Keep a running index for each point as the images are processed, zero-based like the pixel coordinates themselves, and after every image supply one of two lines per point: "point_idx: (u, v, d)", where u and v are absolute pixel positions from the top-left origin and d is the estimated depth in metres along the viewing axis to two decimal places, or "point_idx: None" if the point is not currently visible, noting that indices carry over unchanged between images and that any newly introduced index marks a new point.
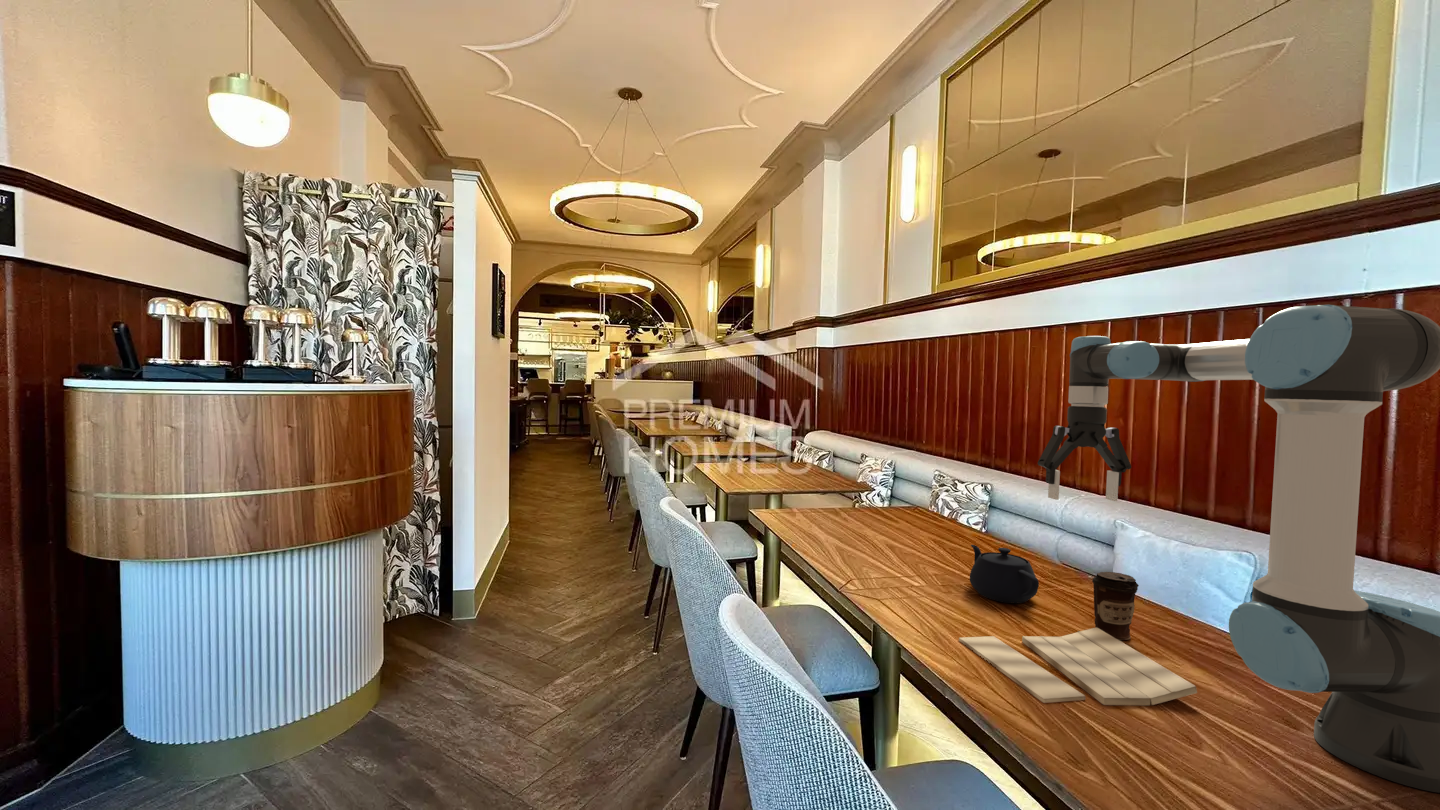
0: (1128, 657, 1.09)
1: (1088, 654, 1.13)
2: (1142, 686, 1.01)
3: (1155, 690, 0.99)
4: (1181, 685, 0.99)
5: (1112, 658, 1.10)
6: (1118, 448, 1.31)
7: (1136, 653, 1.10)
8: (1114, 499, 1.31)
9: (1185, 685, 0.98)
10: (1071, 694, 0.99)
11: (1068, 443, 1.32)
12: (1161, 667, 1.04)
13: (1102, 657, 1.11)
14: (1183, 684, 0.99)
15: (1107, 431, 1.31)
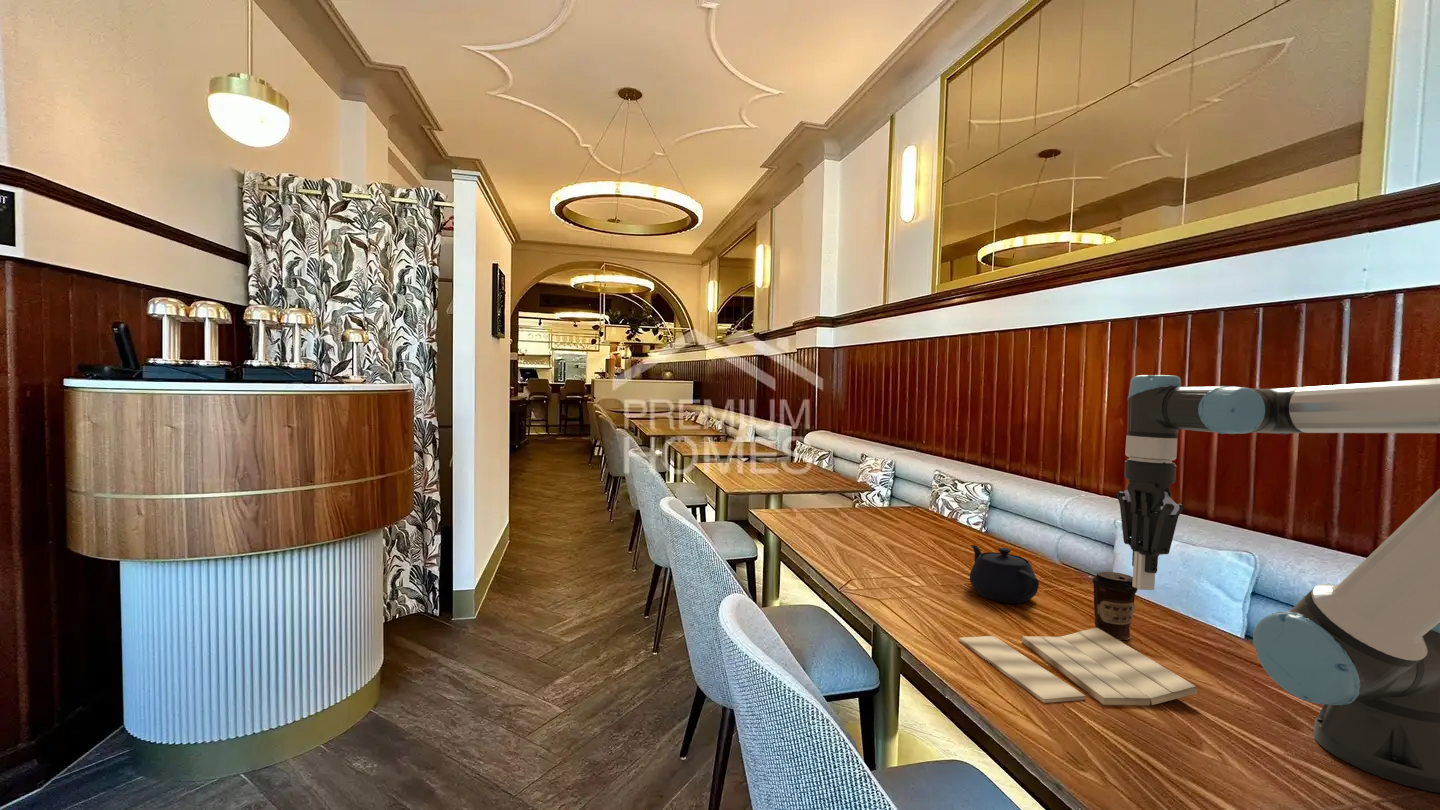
0: (1128, 657, 1.09)
1: (1088, 654, 1.13)
2: (1142, 686, 1.01)
3: (1156, 690, 0.99)
4: (1181, 685, 0.99)
5: (1112, 658, 1.10)
6: (1157, 524, 1.03)
7: (1136, 653, 1.10)
8: (1137, 586, 1.07)
9: (1185, 685, 0.98)
10: (1071, 693, 0.99)
11: None
12: (1161, 667, 1.04)
13: (1102, 657, 1.11)
14: (1183, 684, 0.99)
15: (1165, 500, 1.02)
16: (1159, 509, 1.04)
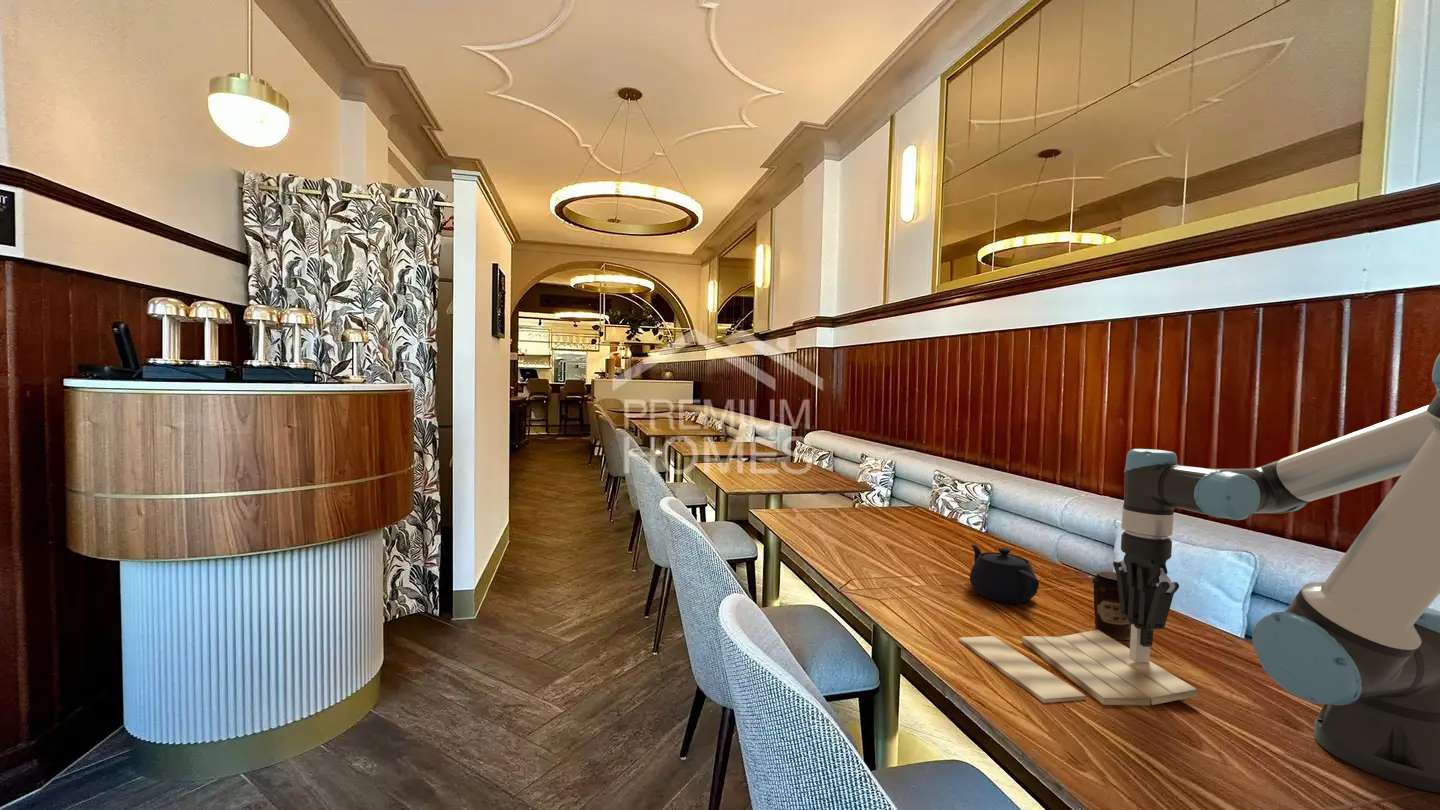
0: (1129, 659, 1.09)
1: (1089, 654, 1.13)
2: (1143, 686, 1.01)
3: (1156, 690, 0.99)
4: (1181, 687, 0.99)
5: (1113, 659, 1.10)
6: (1153, 600, 1.03)
7: None
8: (1133, 658, 1.08)
9: (1186, 688, 0.98)
10: (1072, 693, 0.99)
11: None
12: (1162, 670, 1.04)
13: (1103, 658, 1.11)
14: (1184, 687, 0.99)
15: (1161, 577, 1.03)
16: (1155, 584, 1.05)
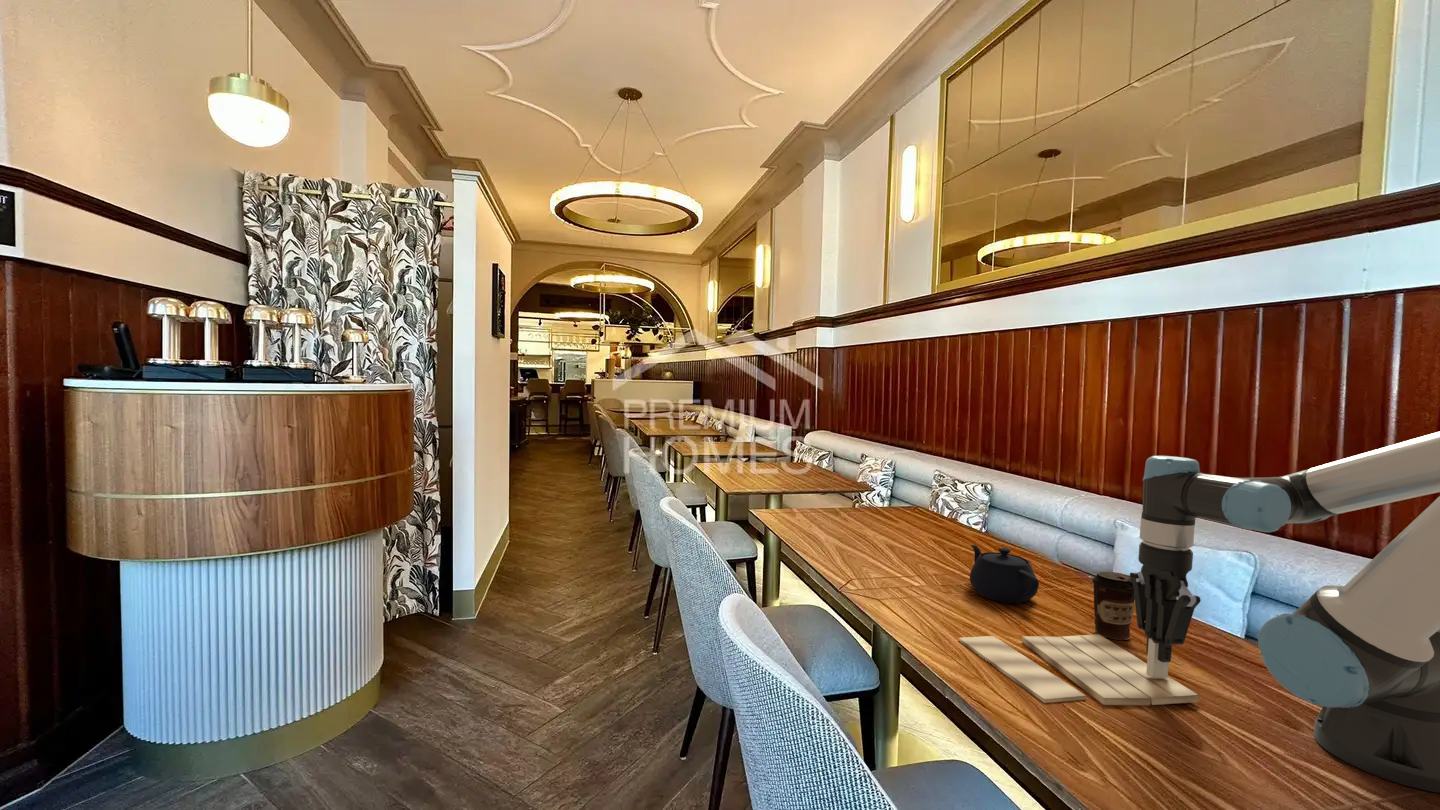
0: (1130, 662, 1.09)
1: (1089, 654, 1.13)
2: (1144, 687, 1.01)
3: (1157, 692, 0.99)
4: (1183, 692, 0.99)
5: (1114, 661, 1.10)
6: (1172, 615, 0.99)
7: (1138, 660, 1.10)
8: (1150, 674, 1.03)
9: (1188, 692, 0.98)
10: (1072, 693, 0.99)
11: None
12: None
13: (1103, 659, 1.11)
14: (1185, 691, 0.99)
15: (1181, 590, 0.98)
16: (1174, 597, 1.00)
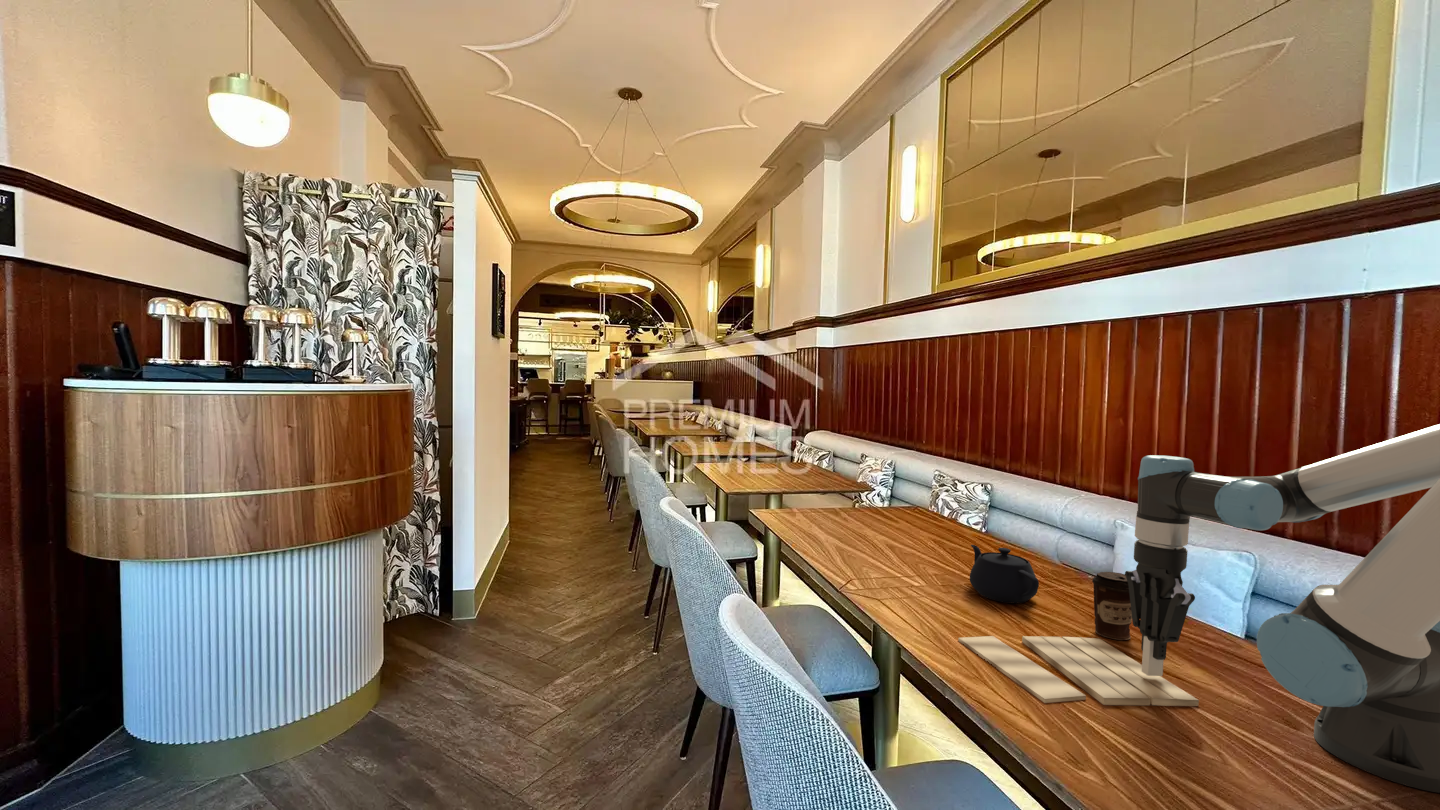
0: (1130, 665, 1.09)
1: (1090, 654, 1.13)
2: (1145, 688, 1.01)
3: (1158, 693, 0.99)
4: (1183, 696, 0.99)
5: (1115, 662, 1.10)
6: (1167, 612, 1.00)
7: (1139, 664, 1.10)
8: (1145, 671, 1.04)
9: (1188, 697, 0.98)
10: (1072, 693, 0.99)
11: None
12: (1164, 679, 1.04)
13: (1104, 660, 1.11)
14: (1186, 696, 0.99)
15: (1176, 588, 0.99)
16: (1169, 595, 1.01)
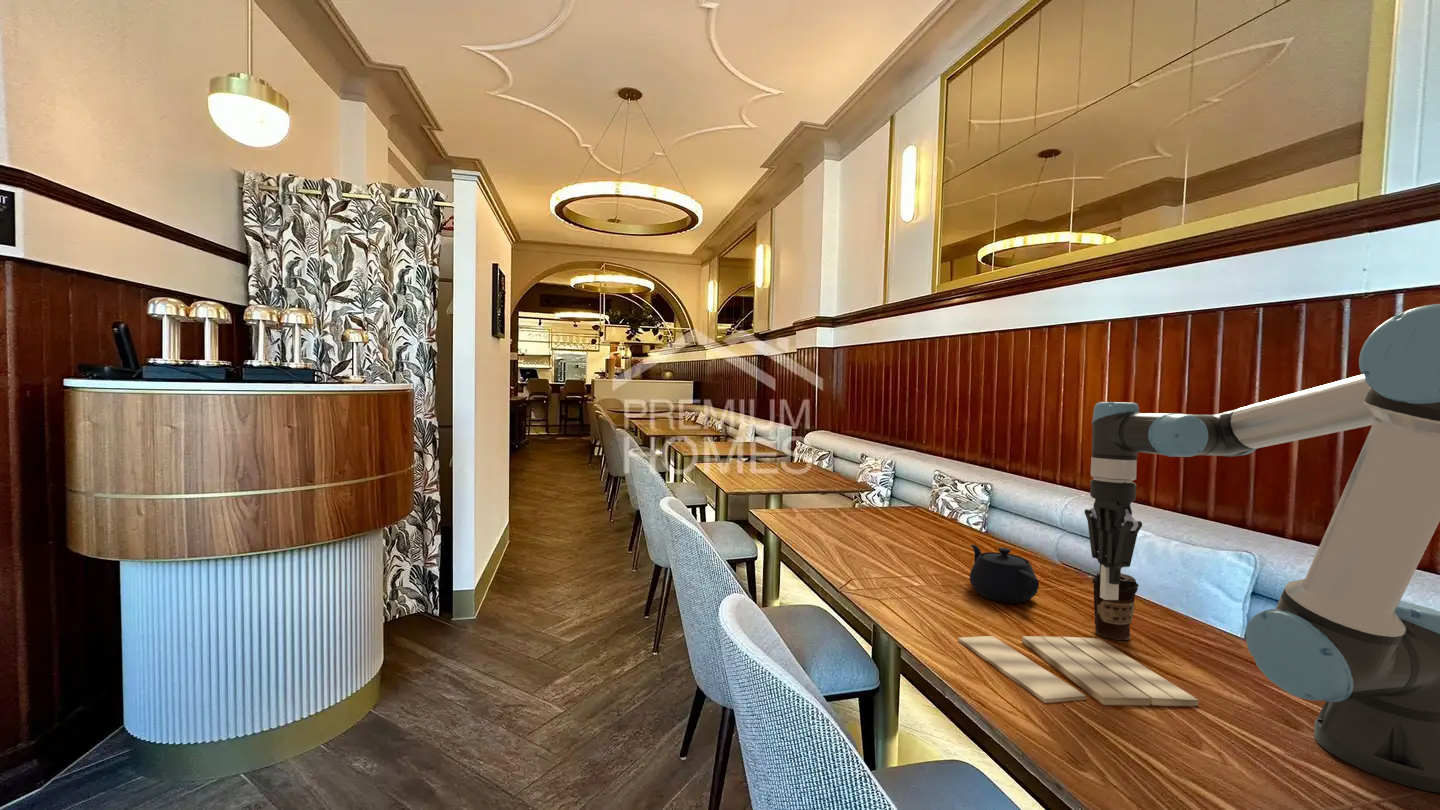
0: (1130, 665, 1.09)
1: (1090, 654, 1.13)
2: (1145, 688, 1.01)
3: (1158, 693, 0.99)
4: (1183, 696, 0.99)
5: (1115, 662, 1.10)
6: (1119, 539, 1.12)
7: (1139, 664, 1.10)
8: (1103, 596, 1.16)
9: (1188, 697, 0.98)
10: (1072, 693, 0.99)
11: None
12: (1164, 679, 1.04)
13: (1104, 660, 1.11)
14: (1186, 696, 0.99)
15: (1126, 517, 1.11)
16: (1121, 525, 1.13)
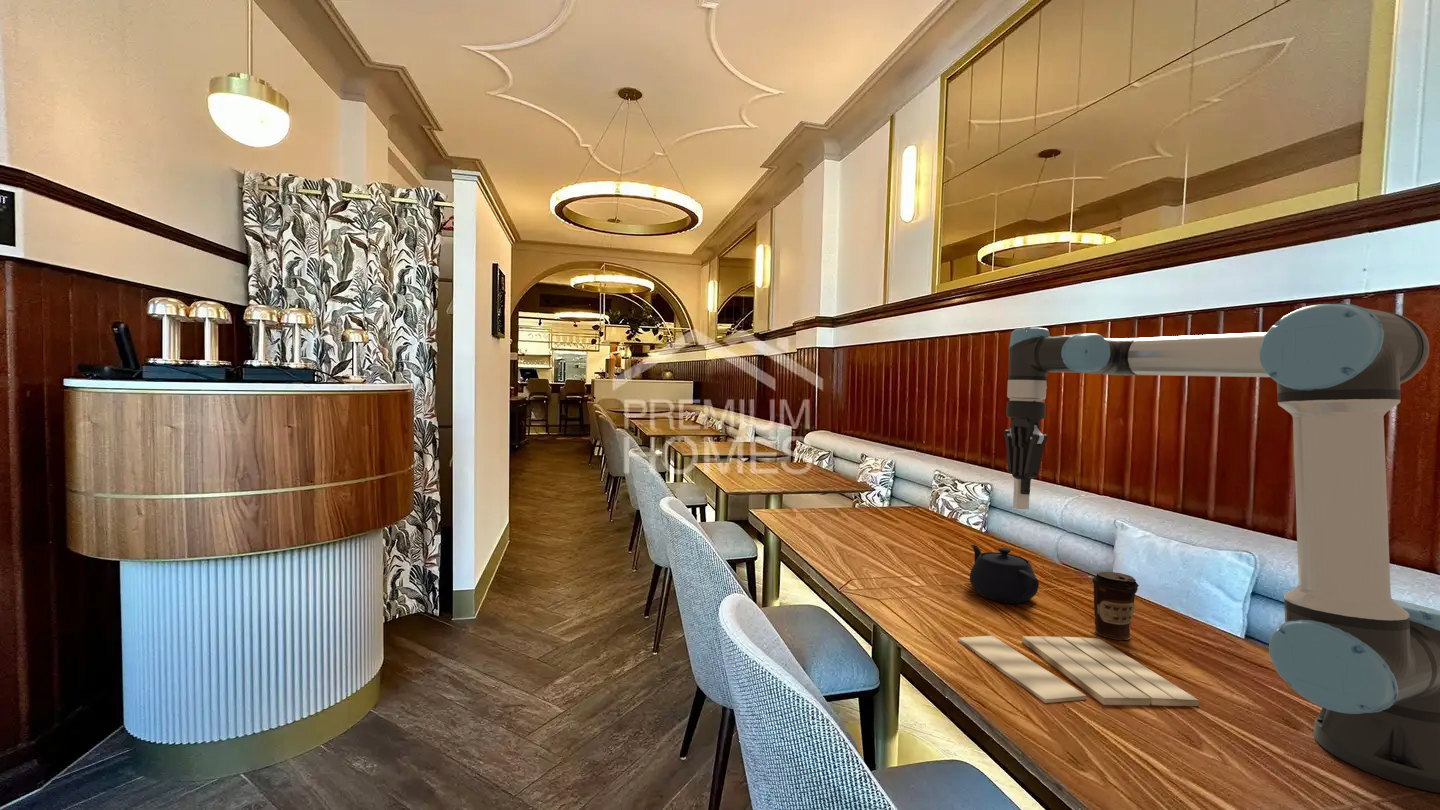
0: (1130, 665, 1.09)
1: (1090, 654, 1.13)
2: (1145, 688, 1.01)
3: (1158, 693, 0.99)
4: (1183, 696, 0.99)
5: (1115, 662, 1.10)
6: (1028, 452, 1.23)
7: (1139, 664, 1.10)
8: (1015, 506, 1.27)
9: (1188, 697, 0.98)
10: (1072, 693, 0.99)
11: None
12: (1164, 679, 1.04)
13: (1104, 660, 1.11)
14: (1186, 696, 0.99)
15: (1034, 432, 1.22)
16: (1031, 440, 1.24)
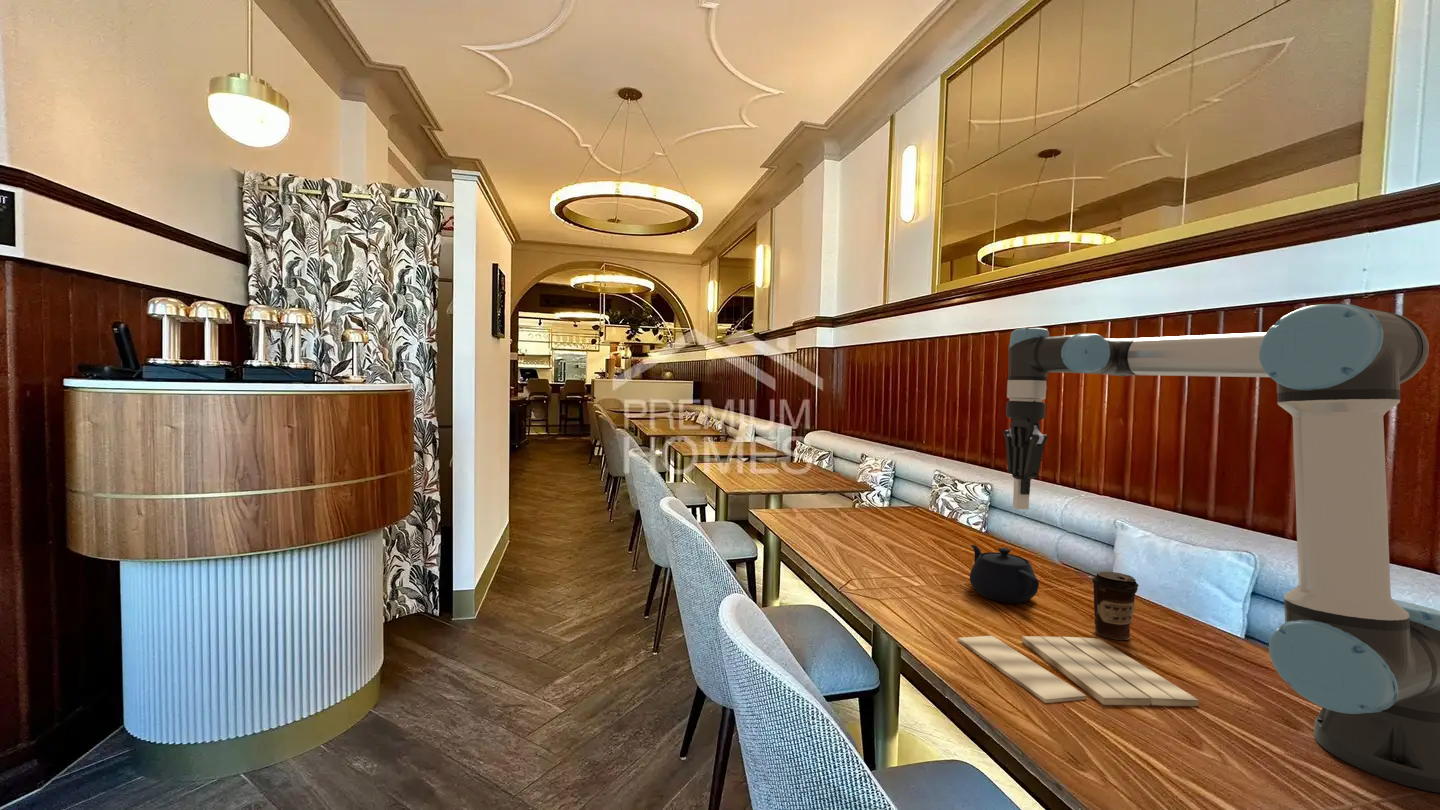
0: (1130, 665, 1.09)
1: (1090, 654, 1.13)
2: (1145, 688, 1.01)
3: (1158, 693, 0.99)
4: (1183, 696, 0.99)
5: (1115, 662, 1.10)
6: (1028, 453, 1.23)
7: (1139, 664, 1.10)
8: (1015, 506, 1.27)
9: (1188, 697, 0.98)
10: (1072, 693, 0.99)
11: None
12: (1164, 679, 1.04)
13: (1104, 660, 1.11)
14: (1186, 696, 0.99)
15: (1034, 432, 1.22)
16: (1031, 440, 1.24)
